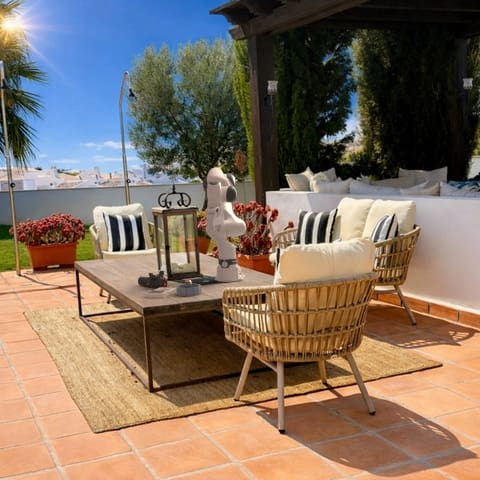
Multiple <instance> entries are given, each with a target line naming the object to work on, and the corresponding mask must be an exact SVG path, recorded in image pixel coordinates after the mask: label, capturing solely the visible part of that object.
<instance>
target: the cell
mask: <svg viewBox="0 0 480 480" xmlns="http://www.w3.org/2000/svg"><path fill="white" fill-rule="evenodd" d="M184 284H185V288H192V284H193V283H192V280H191V279H186V280H184Z"/></svg>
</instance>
